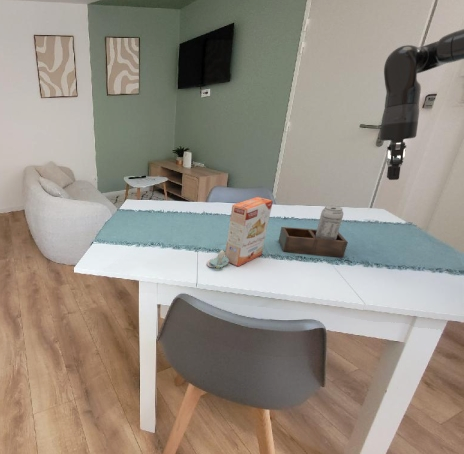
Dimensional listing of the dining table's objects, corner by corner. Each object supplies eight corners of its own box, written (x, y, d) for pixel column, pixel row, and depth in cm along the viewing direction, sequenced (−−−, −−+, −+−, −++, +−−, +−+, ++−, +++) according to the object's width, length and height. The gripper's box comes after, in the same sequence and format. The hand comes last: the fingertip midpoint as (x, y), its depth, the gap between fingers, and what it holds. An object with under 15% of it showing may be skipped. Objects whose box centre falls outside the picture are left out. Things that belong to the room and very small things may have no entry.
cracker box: (238, 267, 97) (248, 209, 89) (223, 260, 102) (230, 204, 94) (263, 255, 104) (273, 199, 95) (247, 249, 108) (256, 195, 100)
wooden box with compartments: (333, 245, 108) (337, 231, 105) (343, 257, 100) (348, 242, 97) (278, 240, 114) (281, 226, 111) (283, 251, 105) (286, 237, 103)
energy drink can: (335, 246, 105) (346, 207, 99) (331, 252, 101) (343, 212, 95) (315, 241, 109) (325, 203, 103) (311, 247, 105) (321, 208, 99)
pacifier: (202, 266, 100) (218, 272, 95) (203, 249, 97) (220, 255, 93) (214, 258, 104) (230, 264, 99) (215, 242, 101) (232, 248, 97)
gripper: (421, 118, 76) (413, 180, 80) (415, 122, 87) (408, 177, 90) (382, 122, 81) (375, 180, 84) (380, 126, 92) (375, 178, 95)
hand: (392, 178), depth 87 cm, fingers open, 8 cm apart
